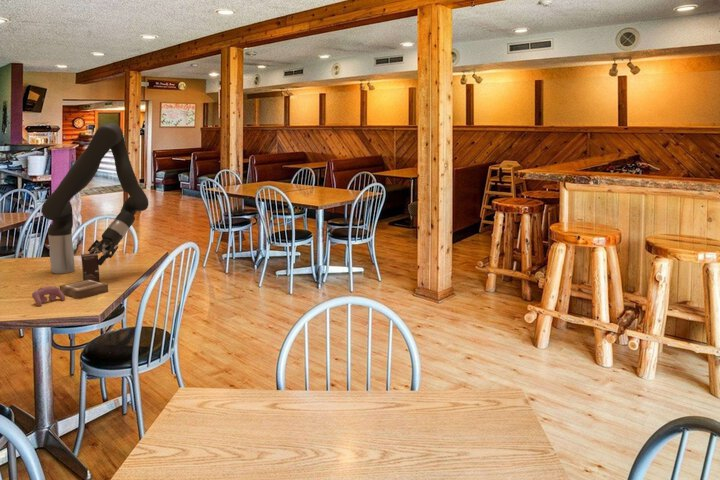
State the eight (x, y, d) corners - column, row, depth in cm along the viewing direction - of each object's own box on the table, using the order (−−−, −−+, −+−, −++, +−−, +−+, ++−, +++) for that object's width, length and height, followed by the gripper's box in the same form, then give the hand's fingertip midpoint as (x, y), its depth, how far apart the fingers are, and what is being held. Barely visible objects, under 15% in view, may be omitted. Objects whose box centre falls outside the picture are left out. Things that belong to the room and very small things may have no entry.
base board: (60, 293, 210) (59, 285, 209) (89, 286, 220) (88, 278, 219) (78, 299, 203) (78, 290, 202) (108, 291, 213) (107, 283, 212)
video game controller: (61, 302, 204) (56, 285, 204) (66, 299, 201) (61, 282, 201) (34, 309, 195) (28, 291, 196) (39, 305, 193) (33, 287, 193)
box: (84, 284, 222) (82, 256, 220) (83, 282, 226) (80, 254, 224) (100, 282, 226) (98, 254, 223) (98, 280, 229) (96, 252, 227)
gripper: (99, 225, 233) (76, 255, 226) (119, 228, 226) (95, 260, 219) (111, 235, 239) (89, 265, 231) (131, 239, 231) (108, 270, 224)
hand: (92, 263), depth 225 cm, fingers open, 8 cm apart
